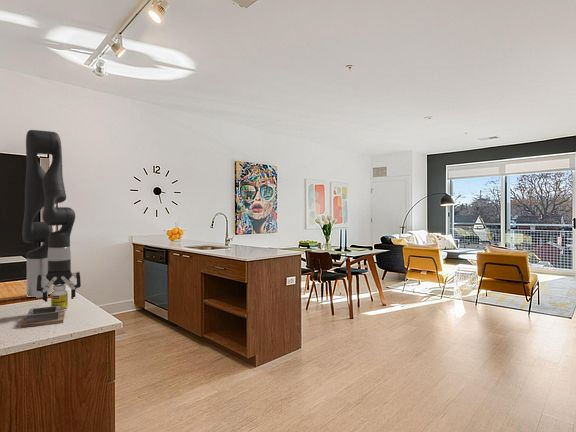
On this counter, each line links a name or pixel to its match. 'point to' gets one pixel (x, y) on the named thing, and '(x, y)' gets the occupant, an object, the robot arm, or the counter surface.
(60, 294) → the supplement bottle
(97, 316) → the counter surface
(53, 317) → the socket base
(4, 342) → the counter surface
